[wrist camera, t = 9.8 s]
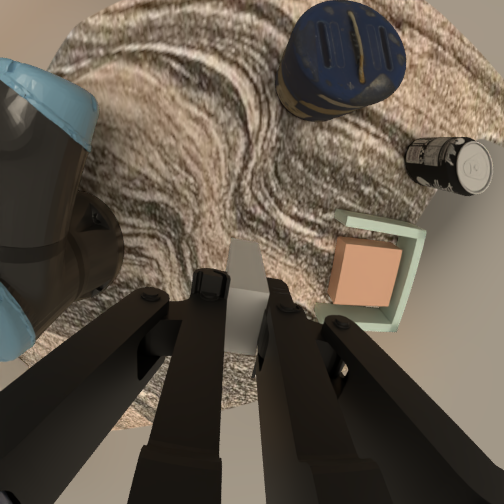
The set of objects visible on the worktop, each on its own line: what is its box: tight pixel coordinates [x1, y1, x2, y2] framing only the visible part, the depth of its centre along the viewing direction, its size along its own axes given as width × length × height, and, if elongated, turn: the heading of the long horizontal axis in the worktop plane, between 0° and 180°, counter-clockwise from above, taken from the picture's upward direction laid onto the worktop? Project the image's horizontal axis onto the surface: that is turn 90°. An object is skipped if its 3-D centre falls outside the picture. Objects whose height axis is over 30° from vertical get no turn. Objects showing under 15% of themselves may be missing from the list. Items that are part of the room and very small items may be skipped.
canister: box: [275, 0, 406, 122], centre depth 26 cm, size 10×10×18 cm
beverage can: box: [406, 137, 493, 196], centre depth 32 cm, size 7×7×12 cm
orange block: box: [327, 236, 402, 307], centre depth 40 cm, size 8×8×4 cm
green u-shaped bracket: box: [314, 209, 427, 332], centre depth 39 cm, size 11×14×5 cm
